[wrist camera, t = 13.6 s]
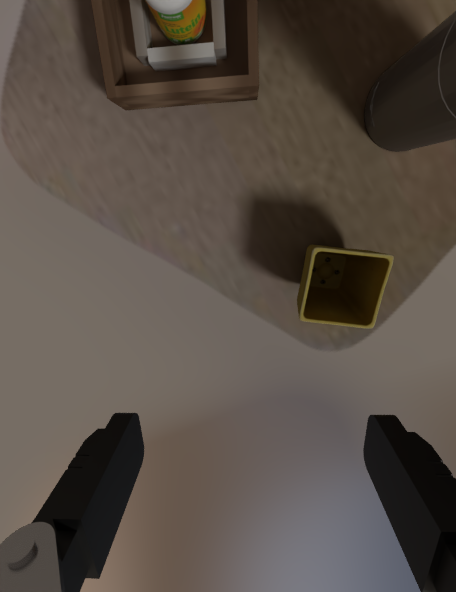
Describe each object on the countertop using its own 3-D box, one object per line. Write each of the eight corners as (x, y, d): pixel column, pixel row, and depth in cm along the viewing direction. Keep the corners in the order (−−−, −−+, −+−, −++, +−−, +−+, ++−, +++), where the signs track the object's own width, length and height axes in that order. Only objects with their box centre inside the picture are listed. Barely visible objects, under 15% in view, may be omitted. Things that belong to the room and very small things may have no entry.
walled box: (253, -89, 29) (255, -143, 24) (257, 99, 34) (258, 85, 30) (98, -69, 30) (71, -117, 25) (125, 110, 36) (107, 98, 31)
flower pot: (299, 234, 39) (313, 246, 31) (363, 241, 39) (396, 255, 31) (288, 295, 43) (298, 321, 34) (348, 301, 42) (373, 329, 34)
